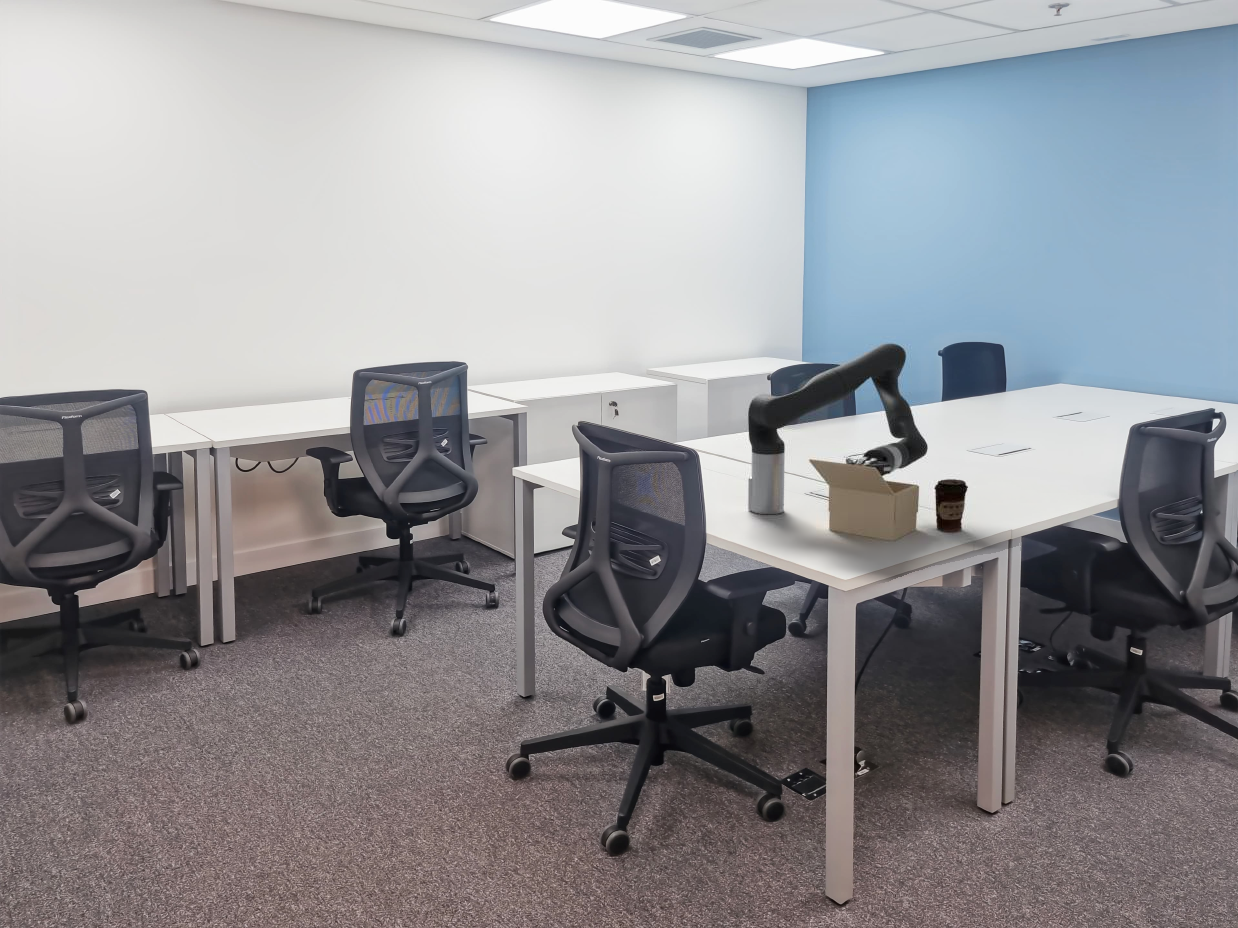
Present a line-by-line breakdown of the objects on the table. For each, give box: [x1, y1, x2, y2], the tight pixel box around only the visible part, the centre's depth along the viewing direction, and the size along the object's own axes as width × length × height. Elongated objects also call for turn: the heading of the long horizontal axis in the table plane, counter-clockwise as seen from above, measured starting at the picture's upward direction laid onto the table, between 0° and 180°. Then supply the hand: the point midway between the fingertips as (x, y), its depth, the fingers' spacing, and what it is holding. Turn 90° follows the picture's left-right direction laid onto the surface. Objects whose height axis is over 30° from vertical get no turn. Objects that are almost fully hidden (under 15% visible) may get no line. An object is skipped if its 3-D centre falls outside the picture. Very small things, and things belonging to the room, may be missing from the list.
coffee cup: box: [934, 478, 969, 533], centre depth 264 cm, size 9×8×13 cm
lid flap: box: [808, 458, 894, 495], centre depth 253 cm, size 18×14×1 cm
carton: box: [828, 480, 920, 542], centre depth 265 cm, size 19×14×12 cm
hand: (852, 471), depth 252 cm, fingers closed
